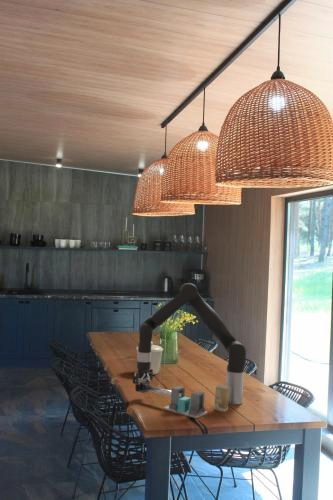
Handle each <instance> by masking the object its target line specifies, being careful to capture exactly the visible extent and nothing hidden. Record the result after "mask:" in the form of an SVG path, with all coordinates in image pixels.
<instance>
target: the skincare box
mask: <svg viewBox="0 0 333 500" xmlns="http://www.w3.org/2000/svg"><path fill="white" fill-rule="evenodd" d="M229 390H230V387H226V385H222V384H219V385H216V386H215V395H214V408H213V409H214V410H216V411H219V412H224V413H225V412H227V411H228V410H229V403H228V402H229Z"/></svg>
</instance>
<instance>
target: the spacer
mask: <svg viewBox="0 0 333 500" xmlns="http://www.w3.org/2000/svg"><path fill="white" fill-rule="evenodd" d="M190 406H191V397H187V396H184V397H182V398H179V399H178V405H177V410H180V411H185V408H186V409H190Z"/></svg>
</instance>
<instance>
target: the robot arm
mask: <svg viewBox="0 0 333 500" xmlns="http://www.w3.org/2000/svg"><path fill="white" fill-rule="evenodd" d="M187 303H188V304H189V305H190V306H191V307H192V308H193V309H194V311H195V313H196V314H197V316H198V318H199V319H200V320H201V322H202V323H203V325H205V327H206V328H207V330H209V332H211V334H212V335H213V336H214V337H215V338H216V339H218V341H220V343H221V345H222V346H223V347H224V348H225V351H226V352H227V353H228V354H227V355H228V362H227V363H228V364H227V366H226V382H225V386H226V387H230V390H229V402H228V405H241V404H242V403H243V394H244V393H243V392H244V375H245V374H244V372H245V367H246V358H247V357H246V355H247V349H246V347H245V346H244V345H243V343H241V342H240V341H239V340H238V339H236V338H235V337H234V335H232V333H231V332H230V330H229V329H228V327H227V325H226V324H225V322H224V321H223V319H222V317H221V316H220V315H219V314H218V313H217V312H216V311H215V310H214V308H213V307H211V305H209V304H208V303H207V302H206V301H205V300H204V298H203V297H202V296H201V295H200V293H199V291H198V288H197V286H196V285H195V284H193V283H191V282H187V283H183V284H182V285H181V286H180V288H179V292H178V293H177V295H176V296H174V297H173V299H171V300H170V301H168V302H167V303H165V304H164V305H163V306H161V307H160V308H159V309H158V310H156V311H155V313H153V314H152V315H151V316H150V317H149V318H148V319H146V320H145V321H143V322H142V323H141V324H140V325H139V329H138V330H139V341H138V346H137V347H138V355H137V356H136V357H137V358H136V369H137V371H134V372H133V375H132V376H133V378H132V384H135V387H134V388H135V389H134V390H135V392H137V393H138V392H139V390H140V385H139V384H140V382H141V381H142V380H144V381H148V382H150V383H151V381H153V379H154V377H153V376H154V375H153V370H152V369H150V368H151V342H152V339H153V332H154V330H156V328H158V327H160V326H161V325H162V324H164V323H165V322H166V321H167V320H168V319H170V317H172V316H173V315H174V314H175V313H176V312H177V311H178V310H179V309H181V308H182V307H183V306H184V305H186V304H187ZM138 381H139V382H138ZM139 393H140V392H139Z"/></svg>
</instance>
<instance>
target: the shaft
mask: <svg viewBox="0 0 333 500" xmlns="http://www.w3.org/2000/svg"><path fill="white" fill-rule="evenodd" d="M138 382H139V381H138ZM150 384H151V381H150V382H148V381H146V380H145V379H143V380H142V381H141V382H140V384H139V385H140V390H139V393H142V394H144V393H149V392H152V393H156V394H159V395H163V396H166V397H171V393H172V390H169V389H165V388H162V387H157V386H152V385H150ZM179 398H182V393H179Z"/></svg>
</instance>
